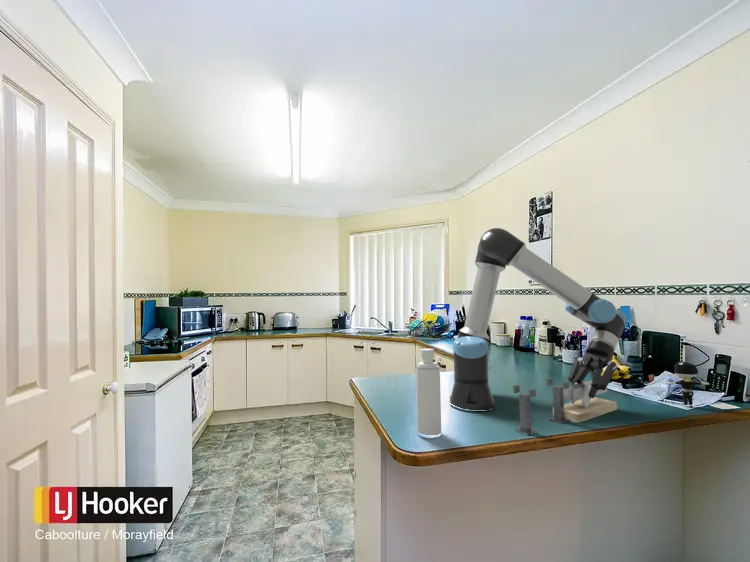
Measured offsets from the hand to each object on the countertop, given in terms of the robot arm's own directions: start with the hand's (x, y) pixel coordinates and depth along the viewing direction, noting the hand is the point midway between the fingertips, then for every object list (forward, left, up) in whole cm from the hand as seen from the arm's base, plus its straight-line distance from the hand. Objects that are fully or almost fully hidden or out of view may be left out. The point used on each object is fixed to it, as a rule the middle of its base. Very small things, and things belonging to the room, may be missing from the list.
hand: (577, 403), depth 108 cm
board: (0, +5, -4) cm, 6 cm away
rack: (0, -18, -4) cm, 18 cm away
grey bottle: (-13, -50, -4) cm, 52 cm away
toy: (+15, +39, -4) cm, 42 cm away
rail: (0, +5, +2) cm, 5 cm away
